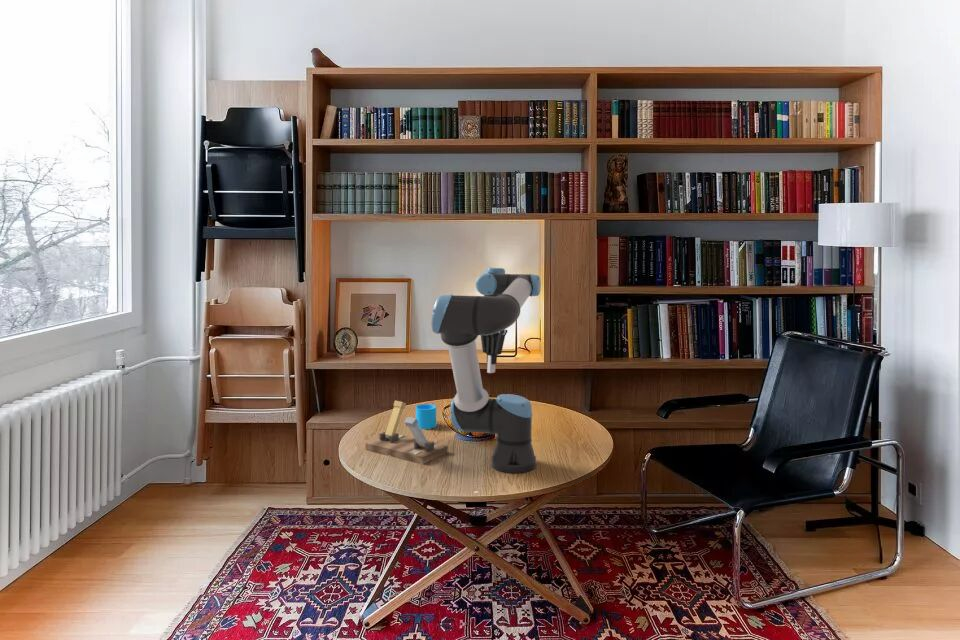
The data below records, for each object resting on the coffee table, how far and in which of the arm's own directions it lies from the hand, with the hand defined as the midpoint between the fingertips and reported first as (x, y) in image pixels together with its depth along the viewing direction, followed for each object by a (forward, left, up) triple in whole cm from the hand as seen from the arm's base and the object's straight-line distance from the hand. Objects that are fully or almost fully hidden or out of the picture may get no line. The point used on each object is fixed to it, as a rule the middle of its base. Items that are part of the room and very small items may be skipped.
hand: (491, 372), depth 243 cm
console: (+9, +32, -25) cm, 42 cm away
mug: (+29, +8, -26) cm, 40 cm away
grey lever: (+1, +30, -22) cm, 37 cm away
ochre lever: (+17, +35, -22) cm, 44 cm away
